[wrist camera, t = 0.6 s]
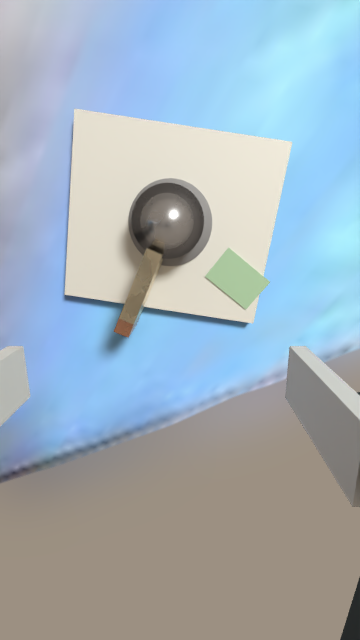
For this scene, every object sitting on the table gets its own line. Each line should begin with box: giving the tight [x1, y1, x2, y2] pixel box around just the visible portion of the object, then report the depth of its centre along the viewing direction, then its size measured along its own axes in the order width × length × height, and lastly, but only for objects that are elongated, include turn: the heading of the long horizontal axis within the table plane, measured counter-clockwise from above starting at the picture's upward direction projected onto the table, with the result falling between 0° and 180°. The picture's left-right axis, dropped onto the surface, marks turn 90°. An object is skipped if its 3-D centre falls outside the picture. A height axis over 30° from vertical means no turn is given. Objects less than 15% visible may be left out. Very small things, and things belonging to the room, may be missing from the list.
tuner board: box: [65, 109, 292, 323], centre depth 34 cm, size 23×19×1 cm
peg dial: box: [114, 183, 204, 337], centre depth 32 cm, size 16×7×4 cm, turn 157°
